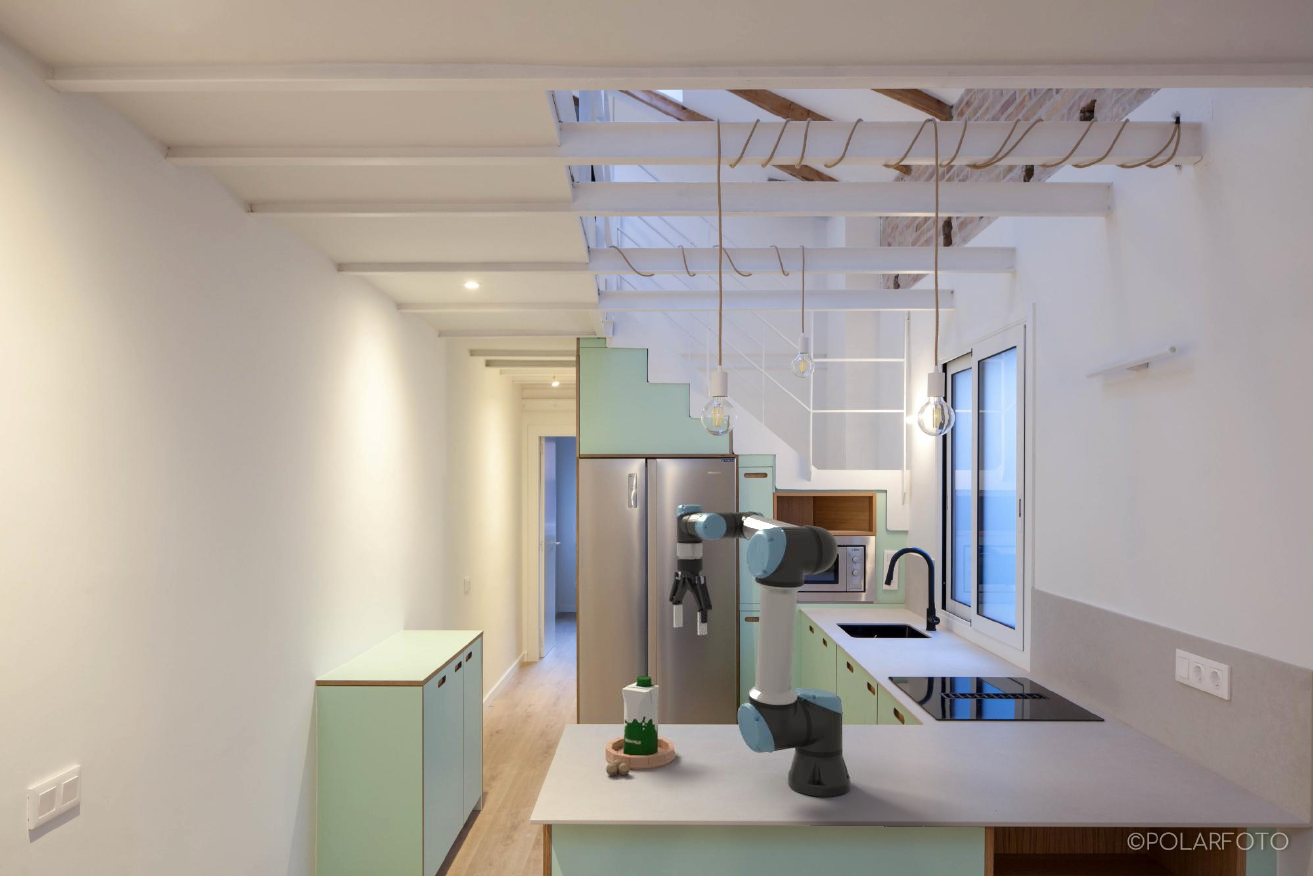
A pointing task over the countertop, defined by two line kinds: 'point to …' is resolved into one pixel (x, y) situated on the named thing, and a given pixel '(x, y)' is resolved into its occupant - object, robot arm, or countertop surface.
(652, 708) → the soya milk
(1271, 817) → the countertop surface
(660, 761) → the tray
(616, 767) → the bead pile
